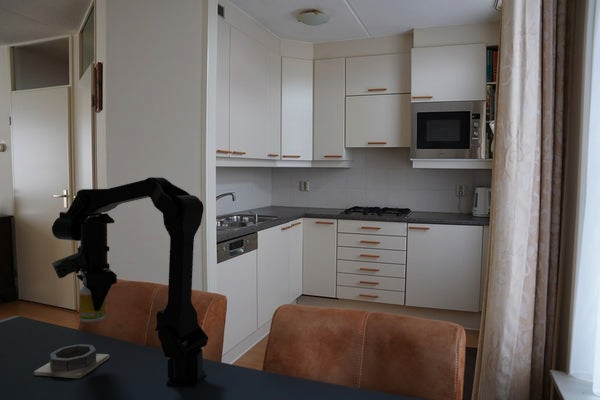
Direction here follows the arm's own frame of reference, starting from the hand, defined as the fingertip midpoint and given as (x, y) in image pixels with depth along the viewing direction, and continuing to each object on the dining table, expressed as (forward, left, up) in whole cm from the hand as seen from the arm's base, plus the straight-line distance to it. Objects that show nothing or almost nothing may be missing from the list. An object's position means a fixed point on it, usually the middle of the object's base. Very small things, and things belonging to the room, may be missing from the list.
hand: (94, 307), depth 101 cm
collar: (+3, +3, -13) cm, 14 cm away
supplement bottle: (0, 0, -3) cm, 3 cm away
